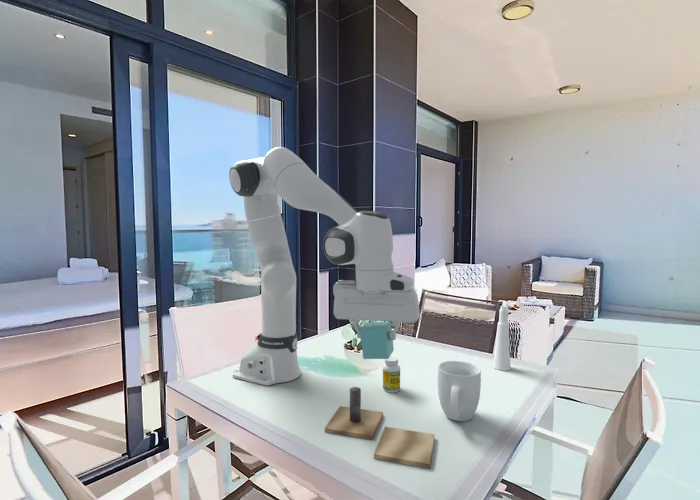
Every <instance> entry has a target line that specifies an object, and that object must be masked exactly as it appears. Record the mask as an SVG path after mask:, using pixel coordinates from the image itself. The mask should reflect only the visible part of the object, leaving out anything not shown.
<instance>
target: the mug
mask: <svg viewBox="0 0 700 500" xmlns="http://www.w3.org/2000/svg"><path fill="white" fill-rule="evenodd" d="M437 366H438V367H437V391H438V392H437V394H438V400H439V404H440V407H441V409H442V412H443V414H444V415H445V417H447V418H448V419H450V420H451V421H456V422H460V423H461V422H468V421H469V420H471V419H472V418H473V417H474V415H475V413H476V412H477V409H478V406H479V402H480V396H481V386H482V381H481V380H482V370H481V368H480V367H479V366H477V365H476V364H473V363H471V362H468V361H467V362H466V361H461V360H447V361H443V362H441V363H439V364H438V365H437Z"/></svg>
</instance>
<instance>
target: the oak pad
mask: <svg viewBox="0 0 700 500" xmlns="http://www.w3.org/2000/svg"><path fill="white" fill-rule="evenodd" d="M435 436H436V435H435V433H434V434H433V433H429V432H422V431H416V430H409V429H404V428H403V429H402V428H396V427H391V426H384V429H383V431H382V433H381V436H380V438H379V440H378V443H377V445H376V448H375V451H374V453H373V459H375V460H381V461H386V462H392V463H396V464H397V463H398V464H403V465H408V466H414V467H419V468H425V469H430V468H431V463H432V456H433V451H434V443H435Z"/></svg>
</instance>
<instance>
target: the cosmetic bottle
mask: <svg viewBox="0 0 700 500" xmlns="http://www.w3.org/2000/svg"><path fill="white" fill-rule="evenodd" d="M498 314H499V315H498V318H499V319H498V322H497V325H496V326H497V327H496V339H495V348H494V351H495V352H494V358H493V362H492V367H493V369H494V370H497V371H501V372H502V371H503V372H508V371H511V370H512V366H511V358H510V357H511V356H510V323H509V321H508V318H509V310H508V306H507V305H500V308H499V313H498Z"/></svg>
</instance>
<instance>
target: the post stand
mask: <svg viewBox="0 0 700 500" xmlns="http://www.w3.org/2000/svg"><path fill="white" fill-rule="evenodd" d="M361 396H362V389H361V388H360V387H357V386H352V387H350V388H349V406H343V405H339V407H338V408H337V410H336V411H335V413H334V414H333V415H332V417H331V419H329V420H328V422H327V424H326V426H324V432H325V433H329V434H336V435H340V436H341V435H342V436H347V437H353V438H360V439H365V440H370V441H373V440H374V437H375V435H376V433H377V431H378V429H379V426H380V424H381V422H382V419H383V418H384V412H383V411H377V410H370V409H363V408H361V407H362V405H361V402H362V397H361Z"/></svg>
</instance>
